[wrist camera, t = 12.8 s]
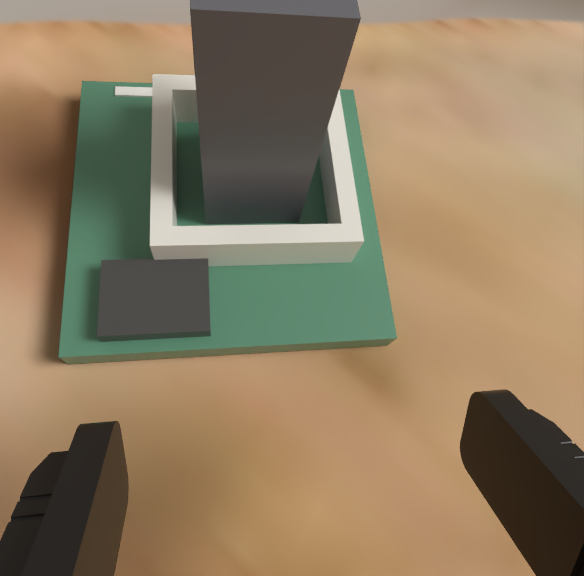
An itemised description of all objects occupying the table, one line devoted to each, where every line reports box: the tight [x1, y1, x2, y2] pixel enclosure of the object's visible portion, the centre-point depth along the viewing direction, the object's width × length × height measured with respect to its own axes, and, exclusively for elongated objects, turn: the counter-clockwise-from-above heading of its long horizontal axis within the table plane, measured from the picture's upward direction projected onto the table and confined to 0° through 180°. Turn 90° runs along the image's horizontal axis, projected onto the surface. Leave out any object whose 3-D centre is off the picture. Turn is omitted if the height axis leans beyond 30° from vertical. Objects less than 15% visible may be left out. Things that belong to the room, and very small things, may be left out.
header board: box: [58, 74, 397, 364], centre depth 20 cm, size 13×13×3 cm
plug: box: [190, 0, 361, 224], centre depth 16 cm, size 4×5×10 cm
